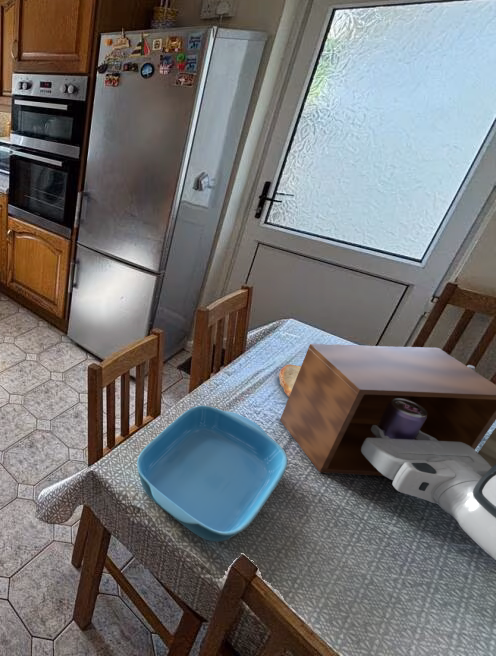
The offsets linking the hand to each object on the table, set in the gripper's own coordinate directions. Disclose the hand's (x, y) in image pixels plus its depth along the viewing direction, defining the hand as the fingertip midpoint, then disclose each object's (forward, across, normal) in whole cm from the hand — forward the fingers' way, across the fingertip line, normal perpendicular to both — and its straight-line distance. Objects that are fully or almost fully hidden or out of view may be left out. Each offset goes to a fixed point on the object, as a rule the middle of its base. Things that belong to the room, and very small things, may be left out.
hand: (392, 428), depth 92 cm
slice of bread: (+24, 0, +11) cm, 27 cm away
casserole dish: (-8, +41, +11) cm, 43 cm away
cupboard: (+4, 0, +11) cm, 12 cm away
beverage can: (-1, 0, +8) cm, 8 cm away
